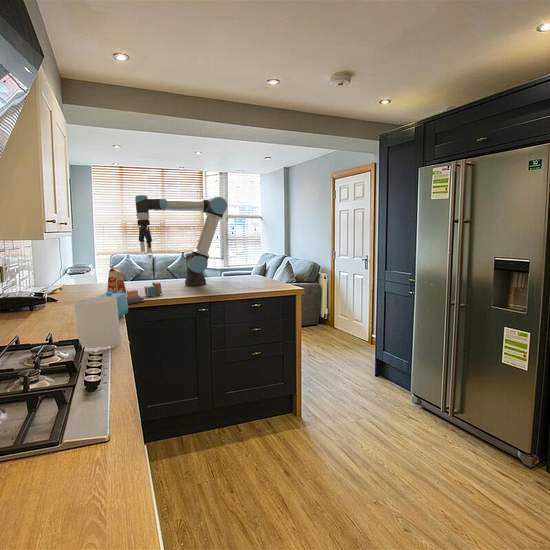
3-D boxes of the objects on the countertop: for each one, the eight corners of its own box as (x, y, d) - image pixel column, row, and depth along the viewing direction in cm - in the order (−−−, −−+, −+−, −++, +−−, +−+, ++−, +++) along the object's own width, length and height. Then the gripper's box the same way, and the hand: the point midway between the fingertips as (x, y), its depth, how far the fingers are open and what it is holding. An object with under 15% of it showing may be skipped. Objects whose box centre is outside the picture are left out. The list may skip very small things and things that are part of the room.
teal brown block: (158, 293, 252) (157, 281, 250) (162, 294, 246) (161, 282, 245) (144, 295, 246) (143, 283, 245) (148, 297, 241) (147, 284, 240)
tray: (139, 298, 236) (138, 295, 236) (144, 301, 228) (143, 297, 228) (122, 301, 230) (121, 297, 230) (126, 304, 222) (126, 300, 222)
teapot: (113, 324, 180) (110, 295, 178) (90, 324, 181) (87, 296, 179) (134, 312, 201) (131, 286, 199) (113, 313, 202) (111, 287, 200)
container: (94, 339, 158) (89, 296, 155) (127, 339, 156) (123, 295, 154) (72, 352, 143) (66, 304, 141) (109, 351, 142) (104, 304, 139)
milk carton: (119, 299, 239) (116, 267, 236) (106, 299, 240) (102, 267, 237) (127, 295, 247) (124, 265, 244) (115, 295, 249) (111, 265, 246)
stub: (136, 298, 233) (135, 289, 232) (138, 300, 229) (137, 290, 228) (127, 300, 230) (126, 290, 229) (129, 301, 226) (128, 291, 225)
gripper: (131, 220, 257) (134, 251, 261) (143, 219, 237) (146, 253, 240) (143, 219, 262) (146, 250, 265) (155, 218, 241) (158, 252, 245)
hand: (146, 252), depth 253 cm, fingers open, 13 cm apart
